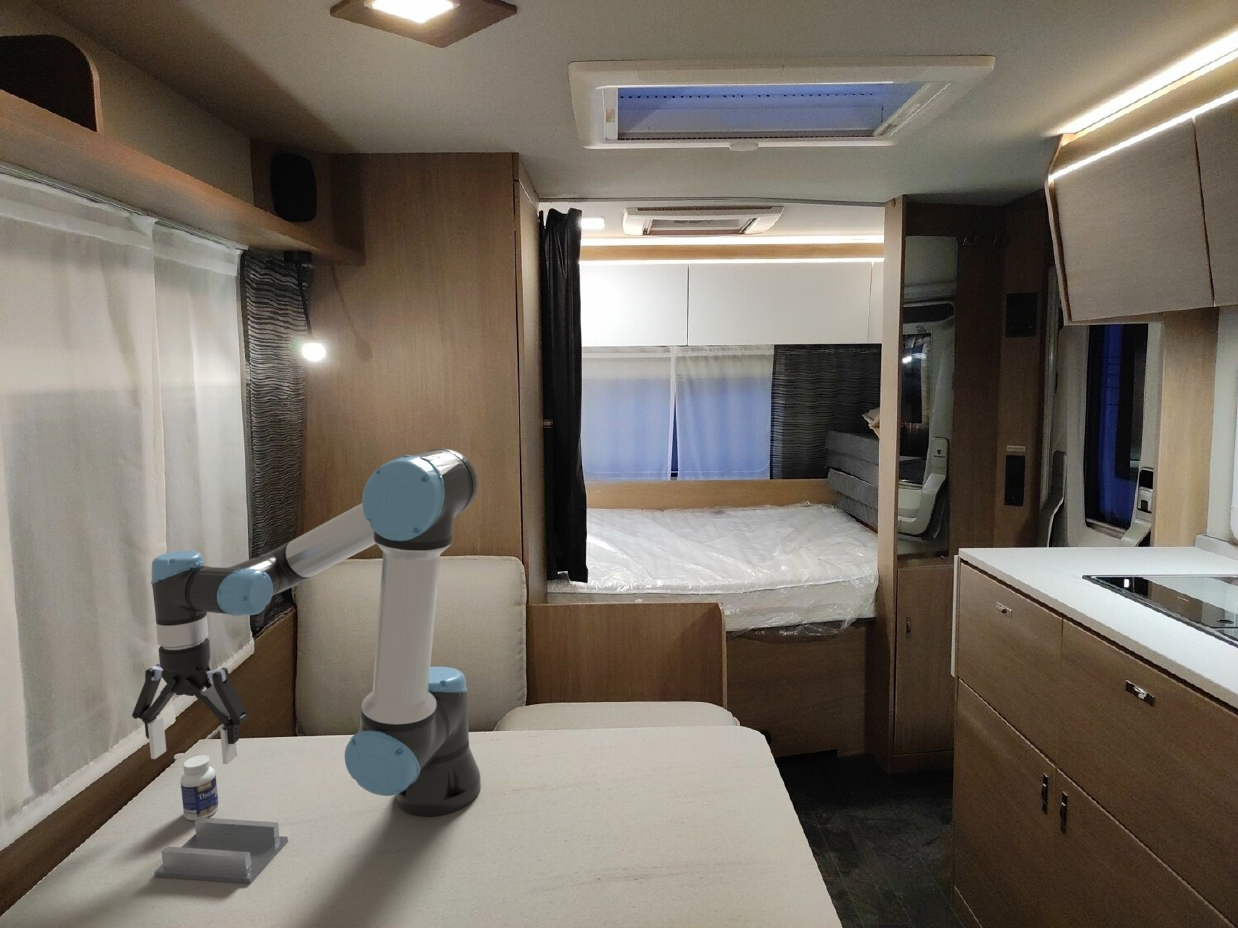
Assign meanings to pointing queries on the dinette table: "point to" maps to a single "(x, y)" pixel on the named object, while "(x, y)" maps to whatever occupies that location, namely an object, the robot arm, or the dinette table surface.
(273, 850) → the rail channel
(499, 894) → the dinette table surface
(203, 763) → the pill bottle
